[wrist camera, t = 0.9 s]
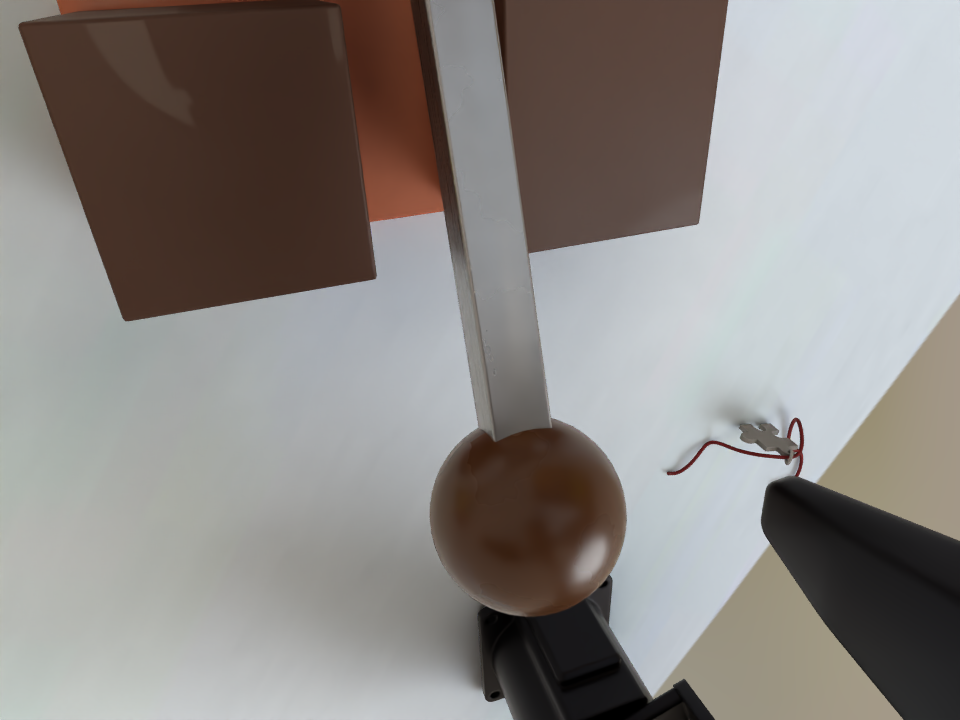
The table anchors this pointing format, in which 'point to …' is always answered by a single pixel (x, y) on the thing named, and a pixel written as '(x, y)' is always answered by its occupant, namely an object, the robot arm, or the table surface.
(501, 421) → the lever
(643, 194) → the brown block
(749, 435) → the pendant
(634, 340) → the table surface
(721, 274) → the table surface
